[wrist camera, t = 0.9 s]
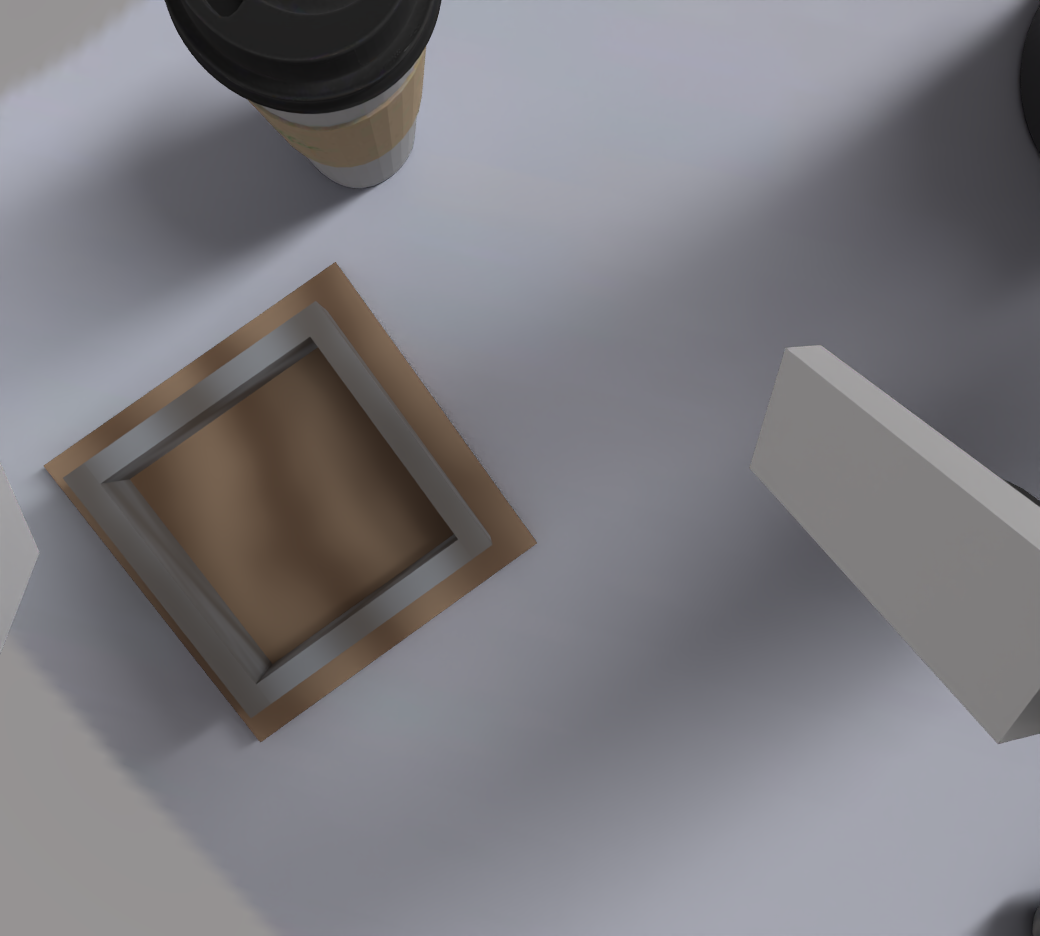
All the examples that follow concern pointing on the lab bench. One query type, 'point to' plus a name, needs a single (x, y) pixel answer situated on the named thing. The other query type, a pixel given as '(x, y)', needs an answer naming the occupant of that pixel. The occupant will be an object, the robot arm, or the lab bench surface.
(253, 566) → the square rimmed tray
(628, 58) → the lab bench surface
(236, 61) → the coffee cup
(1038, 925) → the pipe fitting
